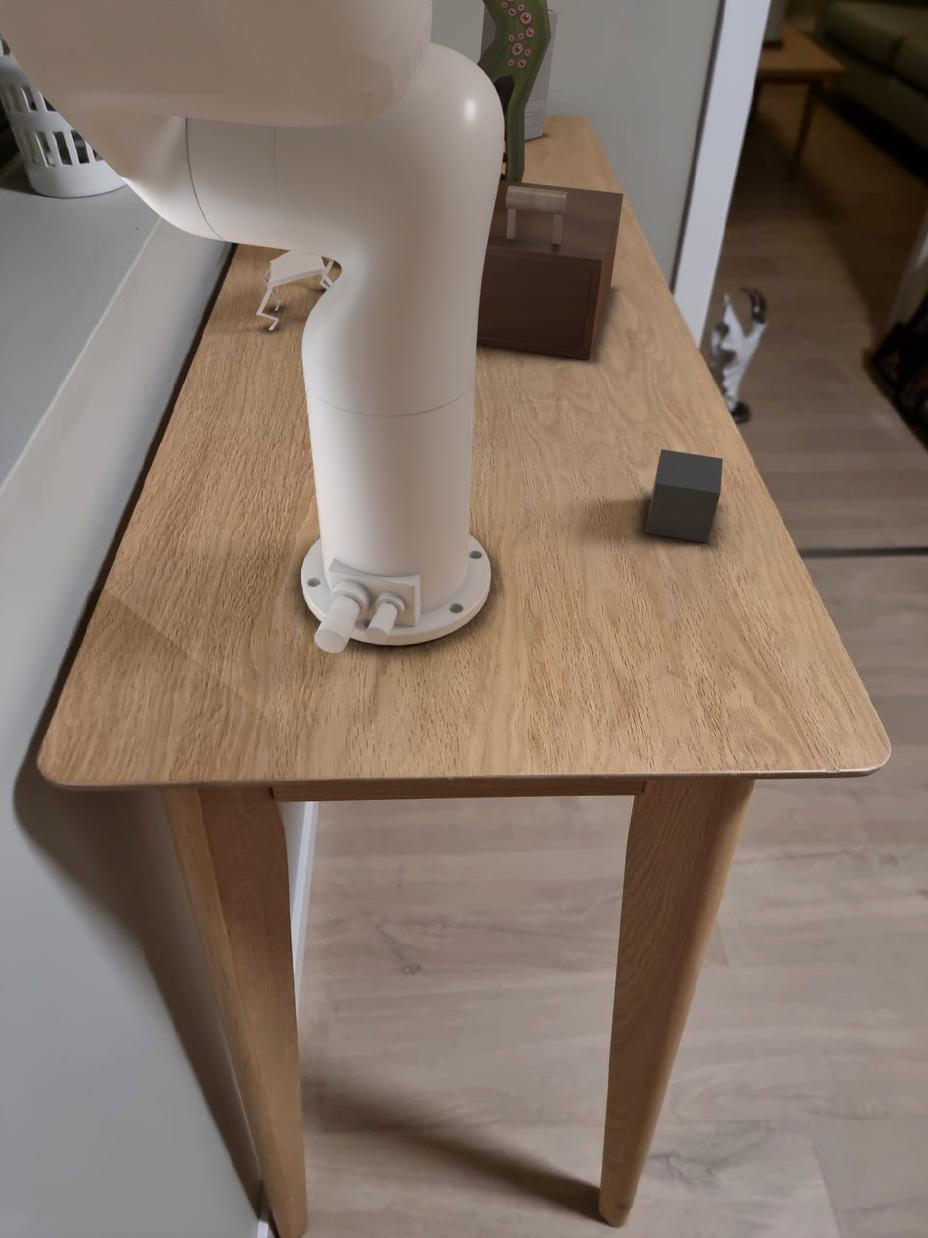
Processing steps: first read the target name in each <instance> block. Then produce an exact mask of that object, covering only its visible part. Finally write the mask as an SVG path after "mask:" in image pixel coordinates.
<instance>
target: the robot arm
mask: <svg viewBox="0 0 928 1238" xmlns="http://www.w3.org/2000/svg"><path fill="white" fill-rule="evenodd" d="M432 26H433V0H0V34H1V36H2V38H3V40H4V42H5V43H6V45H7V47H8V48H9V50H10V52H11V54H12V56H13V58H14V60H15V61H16V62H17V65H19V67H20V69H21V70H22V72H23V74H25V75H26V77H27V78H28V80H29V81H30V82H31V83H32V84H33V87H34V88H35V89H36V90H37V91H38V92H39V93H40V95H41V96H42V97H43V98H44V99H45V100H46V101H47V102H48V104H50V106H51V107H52V108H53V109H54V110H55V111H56V112H57V113H58V115H60V116H61V117H62V119H63V120H64V121H65V122H66V123H67V124H68V125H69V126H70V127H71V128H72V129H73V130H74V131H75V132H76V133H77V134H78V135H79V136H80V137H81V138H82V139H83V140H84V141H85V142H86V144H88V146H90V148H91V149H92V150H93V151H94V152H95V153H96V154H97V155H98V156H99V157H100V158H101V159H102V160H103V161H104V162H105V163H106V164H107V165H108V166H109V167H110V168H111V169H112V170H113V171H114V172H115V173H116V175H118V176H119V177H120V178H121V180H123V182H124V183H125V184H127V186H128V187H129V188H131V190H132V191H133V192H134V193H135V194H136V195H137V196H138V197H139V198H140V199H141V200H142V201H143V202H145V204H146V205H147V206H148V207H149V208H151V210H153V211H154V213H156V214H157V215H159V216H160V217H161V218H162V219H163V220H165V221H167V222H168V223H169V224H171V225H173V226H174V227H175V228H177V229H179V230H181V231H184V232H186V233H188V234H191V235H194V236H197V237H201V238H205V239H210V240H215V241H222V242H228V243H234V244H241V245H248V246H256V247H263V248H271V249H277V250H285V251H291V250H292V251H300V252H305V253H307V254H311V255H317V256H321V257H323V258H324V257H328V258H330V259H333V260H334V262H336V263H338V265H340V268H341V273H340V275H339V276H338V277H337V278H336V280H334V282H333V284H332V285H331V286H330V285H329V288H328V289H326V290H325V292H324V293H323V294H322V295H321V296H320V298H319V299H318V300H317V302H315V305H314V306H313V307H312V309H311V310H310V313H309V315H308V317H307V318H306V322H305V324H304V328H303V332H302V337H301V362H302V373H303V375H302V376H303V381H304V389H305V401H306V410H307V420H308V428H309V429H308V430H309V439H310V449H311V458H312V459H311V460H312V468H313V475H314V487H315V496H316V497H315V498H316V507H317V516H318V524H319V535H320V537H319V538H318V539H317V540H316V541H315V542H314V543H313V544H312V545H311V546H310V548H309V549H308V551H307V553H306V555H305V556H304V559H303V561H302V566H301V568H300V581H301V582H300V583H301V588H302V594H303V598H304V600H305V603H306V604H307V607H308V609H309V610H310V611H311V613H312V614H313V615H314V616H315V617H316V619H317V620H318V621H320V624H319V626H318V628H317V630H316V632H315V634H314V636H313V638H314V643H315V644H316V645H317V647H318V648H319V649H321V650H322V651H323V652H326V653H328V654H329V653H330V654H333V655H335V654H340V653H343V651H345V649H346V647H347V645H348V643H349V640H350V639H353V640H356V641H360V642H362V643H368V644H373V645H381V646H405V645H413V644H422V643H425V642H430V641H432V640H437V639H439V638H442V637H444V636H447V635H449V634H451V633H454V632H455V631H457V630H458V629H460V628H462V627H463V626H465V625H466V624H468V623H469V622H470V621H471V620H472V619H474V617H475V616H477V614H478V613H479V612H480V611H481V609H482V608H483V606H484V605H485V603H486V601H487V599H488V595H489V594H490V590H491V579H492V570H491V562H490V559H489V556H488V555H487V553H486V550H485V549H484V547H483V546H482V545H481V543H480V542H479V541H478V539H476V538H475V537H474V536H473V535H471V534H470V527H471V525H470V523H471V499H472V498H471V497H472V474H473V473H472V471H473V450H474V449H473V446H474V445H473V443H474V422H475V421H474V420H475V419H474V418H475V416H474V415H475V395H476V393H475V392H476V391H475V390H476V367H477V366H476V364H477V344H476V343H477V326H478V310H479V300H480V290H481V280H482V273H483V266H484V259H485V253H486V247H487V242H488V236H489V231H490V225H491V220H492V215H493V210H494V205H495V200H496V195H497V190H498V185H499V180H500V175H501V167H502V160H503V152H504V116H503V111H502V106H501V102H500V99H499V96H498V94H497V91H496V89H495V87H494V85H493V84H492V82H491V80H490V79H489V78H488V76H487V75H486V74H485V72H484V71H483V70H482V69H481V68H480V67H479V66H478V65H477V63H476V62H474V61H473V60H472V59H470V58H469V57H468V56H466V55H464V54H463V53H461V52H459V51H457V50H455V49H453V48H450V47H448V46H445V45H442V44H439V43H436V42H433V41H431V38H432V28H433V27H432Z"/></svg>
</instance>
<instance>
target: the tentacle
mask: <svg viewBox="0 0 928 1238" xmlns="http://www.w3.org/2000/svg"><path fill="white" fill-rule="evenodd" d="M482 2H483V4H484V7H485V6H486V8H487V10H488V12H489V14H490V15H491V17H492V19H493V21H494V23H495V25H496V32H495V38H494V41H493V42H492V44H491V45H490V46H489V47H488V48H487V50H486V51H485V52H484V53H483V55H482V57H481V58H480V57H479V60H478V62H477V63H476V64H477V65H478V66H479V67H480V68H481V69H482V70H483V71H484V72H485V74H486V75H487V76H488V78H489V79H490V80H491V82H492V84H493V85H494V87H495V89H496V91H497V94H498V96H499V99H500V102H501V106H502V111H503V116H504V152H503V160H502V167H501V175H500V180H505V181H514V182H523V178H524V175H525V169H526V168H525V163H526V162H525V156H526V155H525V154H526V153H525V152H526V151H525V141H526V140H525V107H526V105H527V102H528V99H529V96H530V94H531V91H532V88H533V86H534V83H535V80H536V77H537V75H538V72H539V69H540V66H541V64H542V61H543V58H544V56H545V53H546V50H547V48H548V45H549V42H550V39H551V30H550V22H549V15H548V8H549V7H548V0H482Z"/></svg>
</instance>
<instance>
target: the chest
mask: <svg viewBox="0 0 928 1238" xmlns="http://www.w3.org/2000/svg"><path fill="white" fill-rule="evenodd" d="M622 208H623V204H622V205H621V208H620V211H619V214H618V217H617V220H616V223H615V226H614V229H613V232H612V235H611V239H610V242H609V245H608V248H607V251H606V254H605V257H604V260H603V263H602V266H601V269H598V268H589V267H581V266H573V265H565V264H557V263H549V262H541V261H533V260H525V259H517V258H509V257H501V256H493V255H485V259H484V266H483V273H482V280H481V290H480V300H479V310H478V326H477V343H476V345H479V346H480V345H481V346H487V347H494V348H503V349H509V350H517V351H524V352H531V353H538V354H545V355H551V356H559V357H566V358H572V359H580V360H587V361H589V360H590V359H591V356H592V353H593V349H594V347H595V342H596V339H597V336H598V332H599V330H600V325H601V323H602V319H603V315H604V311H605V309H606V305H607V301H608V298H609V295H610V291H611V287H612V279H613V272H614V266H615V259H616V250H617V245H618V236H619V230H620V224H621V223H620V222H621V216H622V210H623V209H622Z"/></svg>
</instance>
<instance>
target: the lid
mask: <svg viewBox="0 0 928 1238" xmlns="http://www.w3.org/2000/svg"><path fill="white" fill-rule="evenodd" d="M624 195H625V193H621V192H613V191H605V190H604V191H603V190H595V189H586V188H576V187H568V186H558V185H549V184H540V183H531V182H524V181H522V182H514V181H505V180H499V185H498V190H497V195H496V200H495V205H494V210H493V215H492V220H491V225H490V231H489V236H488V242H487V247H486V253H485V255H493V256H501V257H509V258H517V259H525V260H533V261H541V262H549V263H557V264H565V265H573V266H581V267H589V268H598V269H601V266H602V263H603V260H604V257H605V254H606V251H607V248H608V245H609V242H610V239H611V235H612V232H613V229H614V226H615V223H616V220H617V217H618V214H619V211H620V208H621V205H622V206H623V201H624Z"/></svg>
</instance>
